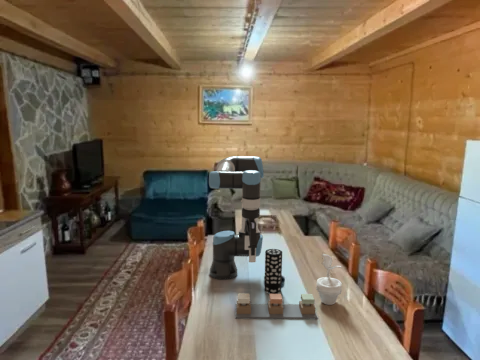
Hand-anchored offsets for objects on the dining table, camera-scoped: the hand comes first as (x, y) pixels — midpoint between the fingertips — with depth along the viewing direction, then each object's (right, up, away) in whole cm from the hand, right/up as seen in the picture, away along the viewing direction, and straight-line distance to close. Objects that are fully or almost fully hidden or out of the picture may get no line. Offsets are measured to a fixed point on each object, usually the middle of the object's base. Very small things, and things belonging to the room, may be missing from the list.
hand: (249, 255), depth 158 cm
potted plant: (+37, -25, +14) cm, 47 cm away
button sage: (+25, -24, +4) cm, 35 cm away
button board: (+11, -26, +4) cm, 29 cm away
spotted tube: (+12, -23, +25) cm, 36 cm away
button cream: (-3, -23, +4) cm, 24 cm away
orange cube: (+11, -23, +4) cm, 26 cm away
